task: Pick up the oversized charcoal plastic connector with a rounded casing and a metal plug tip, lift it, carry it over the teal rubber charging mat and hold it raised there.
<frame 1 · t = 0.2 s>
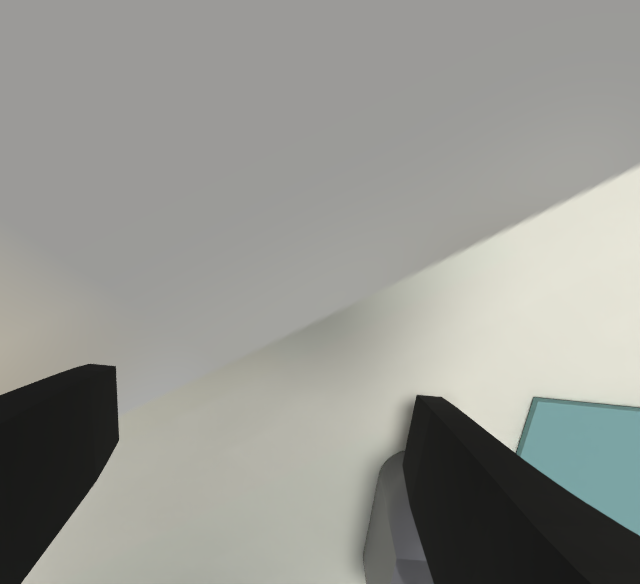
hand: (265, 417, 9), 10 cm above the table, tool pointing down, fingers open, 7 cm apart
charging mat: (601, 522, 23), on the table
connector: (403, 518, 23), on the table
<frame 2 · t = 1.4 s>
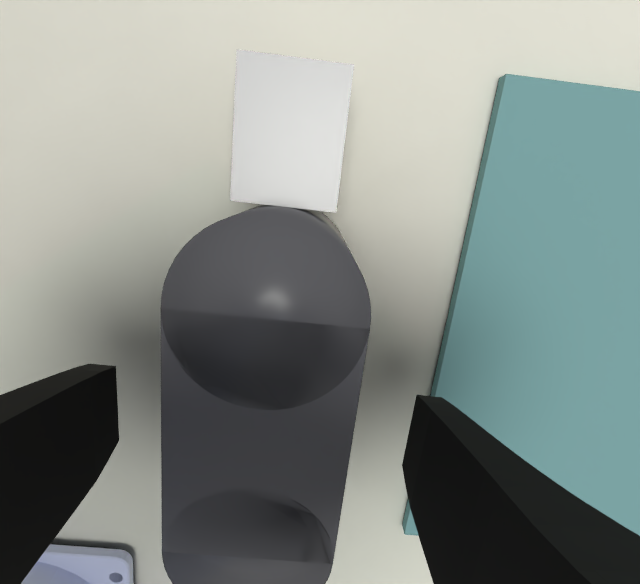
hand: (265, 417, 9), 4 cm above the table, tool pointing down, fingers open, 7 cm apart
charging mat: (626, 358, 13), on the table
connector: (278, 350, 13), on the table
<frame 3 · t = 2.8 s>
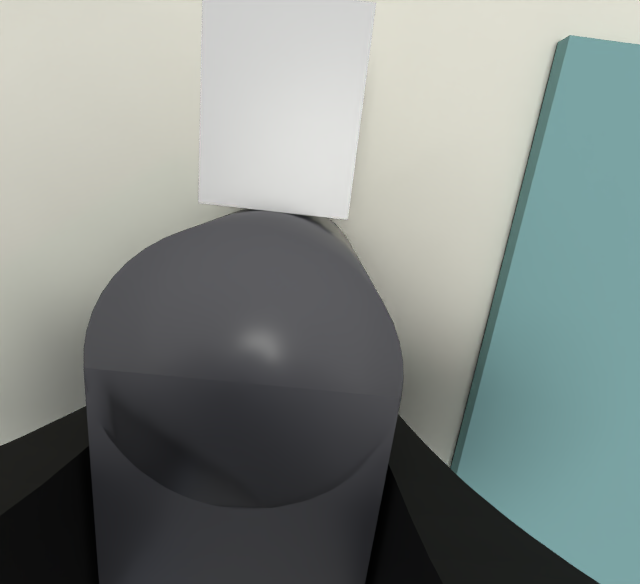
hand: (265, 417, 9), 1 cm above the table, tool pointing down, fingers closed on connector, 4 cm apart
connector: (272, 386, 10), on the table, touching gripper
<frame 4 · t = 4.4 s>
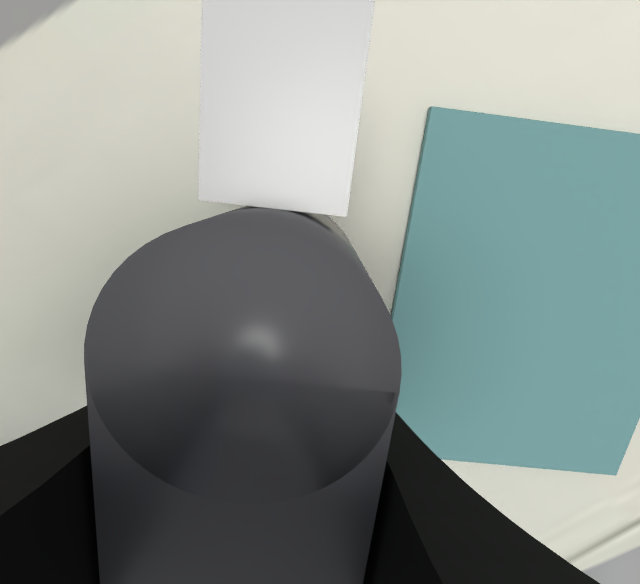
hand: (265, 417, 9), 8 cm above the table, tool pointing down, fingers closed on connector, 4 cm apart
charging mat: (532, 314, 17), on the table
connector: (271, 384, 10), point 7 cm above the table, touching gripper
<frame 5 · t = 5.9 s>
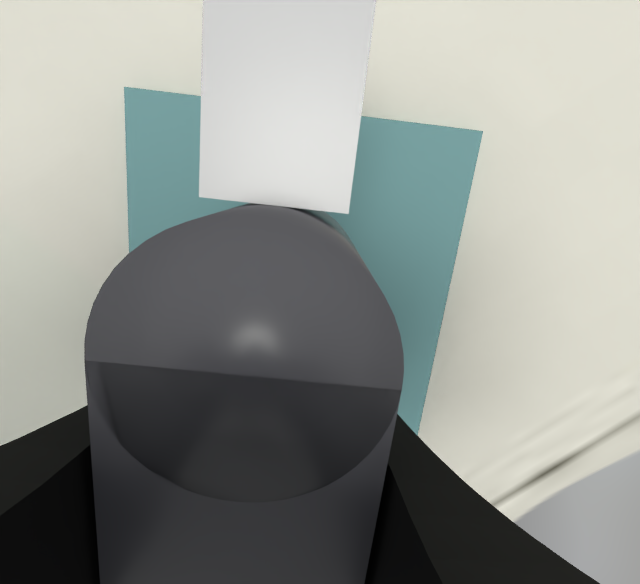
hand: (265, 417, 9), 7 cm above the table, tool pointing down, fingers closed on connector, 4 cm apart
charging mat: (288, 313, 16), on the table
connector: (272, 383, 10), point 6 cm above the table, touching gripper
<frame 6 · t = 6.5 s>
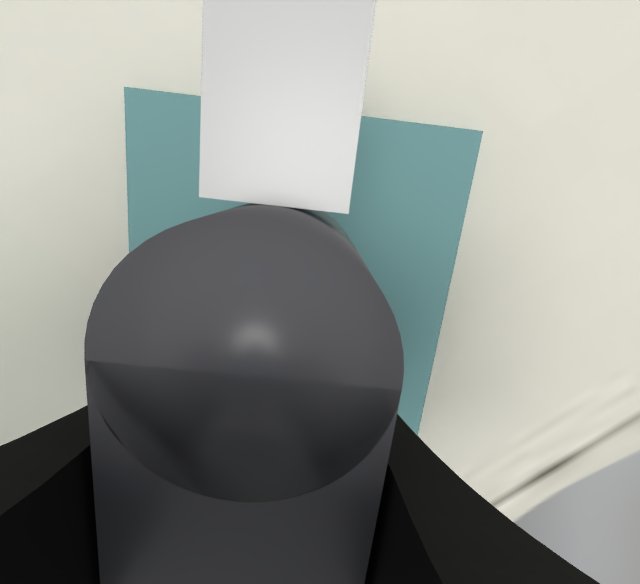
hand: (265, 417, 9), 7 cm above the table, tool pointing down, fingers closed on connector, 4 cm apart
charging mat: (288, 313, 16), on the table
connector: (272, 383, 10), point 6 cm above the table, touching gripper
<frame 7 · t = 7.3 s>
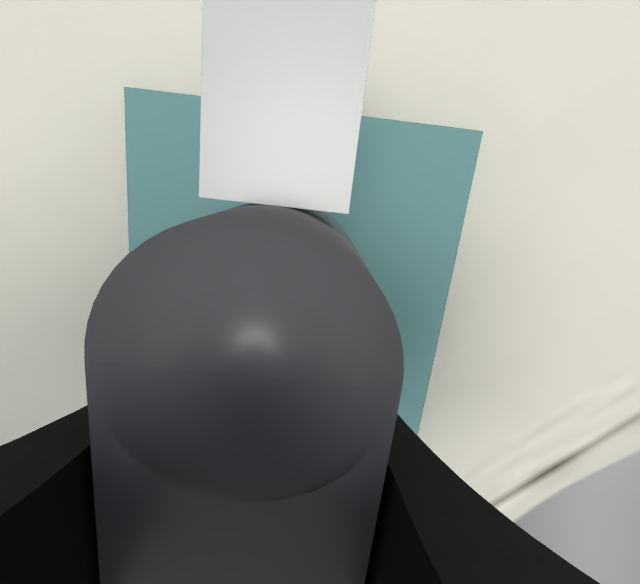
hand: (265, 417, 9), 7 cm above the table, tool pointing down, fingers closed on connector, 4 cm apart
charging mat: (288, 313, 16), on the table
connector: (272, 383, 10), point 6 cm above the table, touching gripper
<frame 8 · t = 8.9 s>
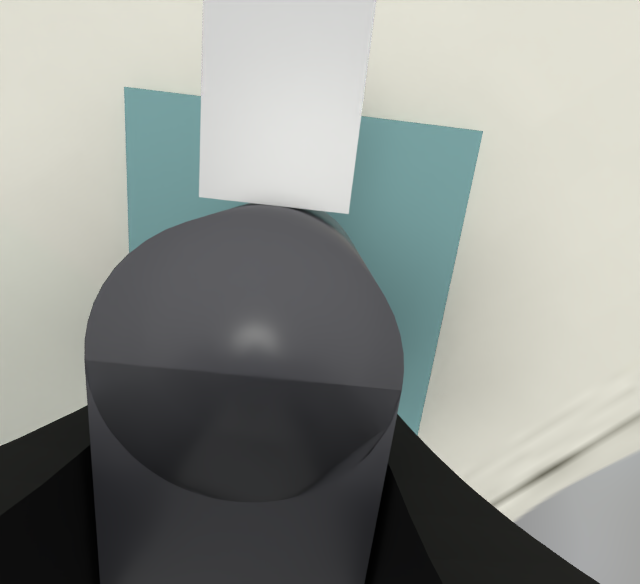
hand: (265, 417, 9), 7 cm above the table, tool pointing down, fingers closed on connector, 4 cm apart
charging mat: (288, 313, 16), on the table
connector: (272, 383, 10), point 6 cm above the table, touching gripper
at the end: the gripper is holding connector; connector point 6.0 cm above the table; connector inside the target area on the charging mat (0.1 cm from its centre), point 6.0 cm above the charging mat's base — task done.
